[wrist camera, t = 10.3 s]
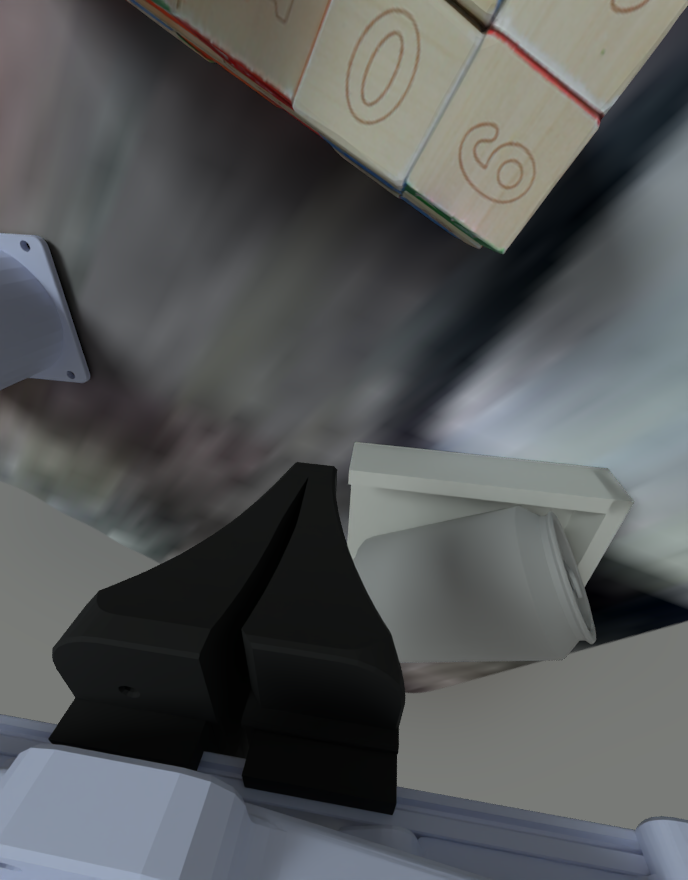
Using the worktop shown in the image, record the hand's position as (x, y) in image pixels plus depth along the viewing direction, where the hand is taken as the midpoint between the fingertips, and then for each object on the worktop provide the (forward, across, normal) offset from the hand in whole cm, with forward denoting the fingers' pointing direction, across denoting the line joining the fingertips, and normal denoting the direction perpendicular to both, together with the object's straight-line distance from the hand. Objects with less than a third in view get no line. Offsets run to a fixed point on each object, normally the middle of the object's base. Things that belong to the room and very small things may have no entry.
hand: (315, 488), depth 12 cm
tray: (+10, -8, +11) cm, 17 cm away
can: (+6, -2, +14) cm, 15 cm away
